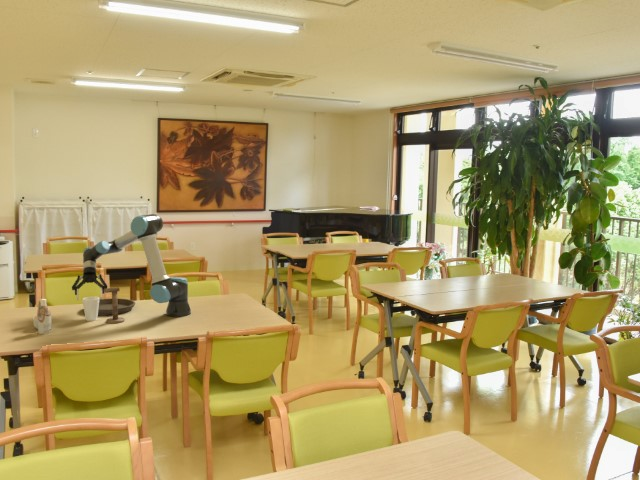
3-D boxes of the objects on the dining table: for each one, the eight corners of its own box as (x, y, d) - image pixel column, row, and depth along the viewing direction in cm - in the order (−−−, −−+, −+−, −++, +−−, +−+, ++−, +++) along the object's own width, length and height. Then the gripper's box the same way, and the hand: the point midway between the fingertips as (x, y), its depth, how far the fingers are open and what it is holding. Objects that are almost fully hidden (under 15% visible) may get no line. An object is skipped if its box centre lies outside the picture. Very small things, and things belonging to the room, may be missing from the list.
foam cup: (83, 322, 345) (83, 300, 343) (82, 318, 353) (81, 297, 351) (101, 320, 349) (100, 299, 347) (99, 316, 357) (98, 296, 356)
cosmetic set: (31, 324, 339) (29, 292, 337) (48, 322, 344) (47, 290, 342) (36, 335, 318) (34, 301, 316) (54, 333, 323) (53, 299, 321)
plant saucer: (128, 302, 396) (128, 295, 395) (141, 312, 370) (141, 305, 370) (79, 307, 379) (79, 300, 379) (89, 318, 354) (89, 311, 353)
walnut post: (126, 321, 347) (126, 288, 345) (109, 324, 341) (108, 290, 338) (120, 318, 355) (119, 285, 352) (103, 320, 348) (102, 287, 346)
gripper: (110, 272, 374) (111, 300, 362) (68, 273, 366) (67, 302, 354) (110, 265, 368) (111, 293, 356) (67, 267, 360) (66, 296, 348)
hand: (89, 298), depth 355 cm, fingers open, 13 cm apart
